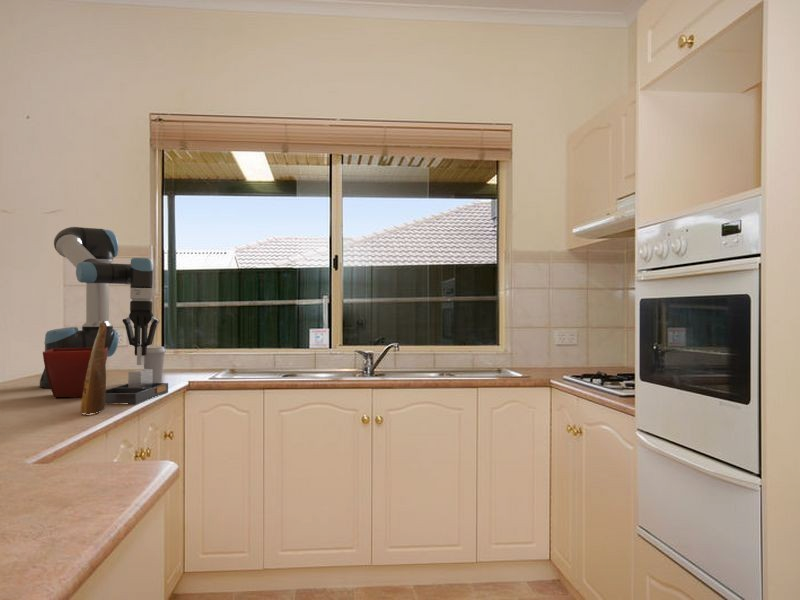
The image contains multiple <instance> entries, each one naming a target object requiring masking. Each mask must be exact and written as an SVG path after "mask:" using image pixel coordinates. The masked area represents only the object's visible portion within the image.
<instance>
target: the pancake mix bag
mask: <svg viewBox="0 0 800 600" xmlns="http://www.w3.org/2000/svg"><path fill="white" fill-rule="evenodd" d="M106 326H107V324H106V323H105V322H104V321H102V323H100V327H99V330H98V333H97V336H96V339H95V342H94V345H93V348H92V352H91V357H90V360H89V364H88V369H87V373H86V378H85V383H84V389H83V395H82V397H81V402H80V403H81V404H80V412H81V413H86V414H90V413H96V412H99V411H101V410H102V409H103V408H104V407H106V404H105V397H106V389H107V370H106V369H107V367H106V365H105V351H104V345H105V339H106V333H107V327H106ZM104 409H105V408H104ZM104 409H103V410H104ZM103 410H102V411H103ZM102 411H101V412H102ZM81 413H80V414H81Z"/></svg>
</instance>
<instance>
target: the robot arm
mask: <svg viewBox="0 0 800 600" xmlns="http://www.w3.org/2000/svg"><path fill="white" fill-rule="evenodd" d="M53 246H54V247H53V248H54V249H55V250H56V252H57V253H58V255H60V256H61V257H63V258H66V259H67V260H68V261H69V262H70V263H71V264H72V265H73V267H75V277H76V279H77V281H78V282H79V283H82V284H83V283H85V289H86V290H85V291H86V293H85V297H86V299H85V300H86V301H85V306H86V309H85V316H86V317H85V323H84V324H82V325H81V330H79V328H78V327H77V326H72V327H71V326H70V327H61V328H56V329H50V330H47V331H46V333H45V337H44V351H47V350H50V349H59V348H93V345H94V342H95V339H96V336H97V333H98V330H99V327H100V323H102V321H104V322H105V323H106V324H107V326H106V327H107V333H106V339H105V345H104V347H108V354H107V358H109V357H112V356H113V355H114V354H116V351H117V348H118V345H119V333H118V331H117V330H116V329H114V328H113V327H114V325H113V324H112V323H111V322H110V285H111V284H112V285H113V284H115V285H116V284H117V285H130V287H129V288H130V290H129V291H130V294H129V298H130V302H129V311H130V312H129V313H128V317H126V318H123V319H122V323H123V324H124V327H125V331H126V334H127V339H128V344H129V345H130V346H133V347H134V355H135V356H136V365H137V366H142V365H143V366H144V356H145V355H146V354H147V347H149V346H151V345H153V341H154V337H155V334H156V330H157V326H158V324H159V323H160V319H159V318H156V317H154V314H153V301H152V300H153V284H154V283H153V280H154V274H153V273H154V264H153V263H154V262H153V260H152V258H148V257H133V258H131V259H130V264H129V263H113V262H114V258H116V257H118V254H119V241H118V238H117V235H116V234H115V233H114V231H112V230H110V229H104V228H95V227H94V228H93V227H81V226H70V227H66V228H64V229H62V230H60V231H59V232H58V233H57V234H56V235H55V237H54V239H53ZM150 322H151V324H150V327H149V323H150ZM132 323H133V326H132ZM133 328H134V331H133ZM148 328H149V331H148ZM41 387H44V389H51V388H50V384H49V381H48V378H47V374H46V370H45V367H44V368H43V372H42V375H41V376H40V379H39V388H41Z"/></svg>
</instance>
